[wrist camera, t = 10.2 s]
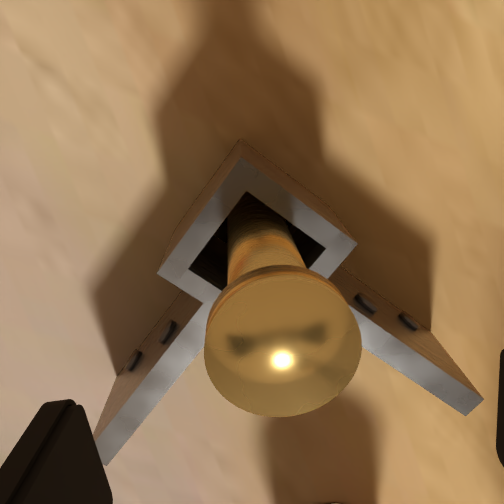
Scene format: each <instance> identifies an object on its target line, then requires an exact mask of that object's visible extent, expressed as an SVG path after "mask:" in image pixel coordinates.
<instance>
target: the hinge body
mask: <svg viewBox="0 0 504 504" xmlns="http://www.w3.org/2000/svg"><path fill="white" fill-rule="evenodd" d="M246 191H248V192H249V193H251V194H252V195H253V196H255V197H256V198H257V199H259V200H260V201H262V202H263V203H264V204H266V205H267V206H268V207H270V208H271V209H273V210H274V211H275V212H277V213H278V214H280V215H281V216H282V217H284V218H285V219H286V220H288V221H289V222H291V223H292V226H291V227H290V228H289V231H290V233H291V235H292V238H293V240H294V242H295V244H296V247H297V249H298V251H299V253H300V255H301V258H302V260H303V262H304V264H305V266H306V268H307V269H310V270H312V271H314V272H317V273H319V274H320V275H322V276H324V277H325V278H327V279H328V280H329V281H330V282H331V283H333V284H334V285H335V287H336V288H337V289H338V290H339V291H340V293H341V294H342V295H343V297H344V299H345V300H346V302H347V304H348V306H349V307H350V309H351V311H352V313H353V314H354V316H355V318H356V320H357V323H358V325H359V329H360V332H361V339H362V347H363V348H365V349H366V350H368V351H369V352H371V353H372V354H374V355H375V356H377V357H378V358H380V359H381V360H383V361H384V362H386V363H387V364H389V365H390V366H392V367H393V368H395V369H396V370H398V371H399V372H401V373H402V374H404V375H405V376H406V377H408V378H409V379H411V380H412V381H414V382H415V383H417V384H418V385H420V386H421V387H423V388H424V389H426V390H427V391H429V392H430V393H432V394H433V395H435V396H436V397H438V398H439V399H441V400H442V401H444V402H445V403H447V404H448V405H450V406H451V407H453V408H454V409H456V410H457V411H459V412H460V413H462V414H463V415H464V416H466V415H467V414H469V413H470V412H471V411H472V410H473V409H474V408H475V407H476V406H477V405H479V404H480V403H481V402H482V401H483V400H484V399H483V397H482V396H481V395H480V393H479V392H478V391H477V390H476V388H475V387H474V386H473V385H472V383H471V382H470V381H469V380H468V378H467V377H466V376H465V374H464V373H463V372H462V371H461V369H460V368H459V367H458V366H457V364H456V363H455V362H454V361H453V359H452V358H451V357H450V355H449V354H448V353H447V352H446V350H445V349H444V348H443V347H442V345H441V344H440V343H439V342H438V340H437V339H436V338H435V336H434V335H433V334H432V333H431V332H430V331H429V330H427V329H426V328H425V327H423V326H422V325H420V324H419V323H418V322H417V321H416V320H415V319H413V318H412V317H411V316H410V315H409V314H407V313H406V312H404V311H401V310H400V309H398V308H397V307H395V306H394V305H393V304H391V303H390V302H388V301H387V300H386V299H384V298H383V297H381V296H380V295H379V294H377V293H376V292H374V291H373V290H372V289H370V288H369V287H368V286H366V285H365V284H363V283H362V282H361V281H359V280H358V279H356V278H355V277H354V276H352V275H351V274H349V273H348V272H347V271H345V270H344V269H342V268H341V267H340V266H339V265H340V264H341V263H342V262H343V260H344V259H345V258H346V257H347V256H348V255H349V253H350V252H351V251H352V250H353V249H354V248H355V247H356V245H357V244H358V243H357V242H356V241H355V239H354V238H353V237H352V236H351V234H350V233H349V232H348V230H347V229H346V228H345V226H344V225H343V224H342V222H341V221H340V220H339V219H338V217H337V216H336V215H335V213H334V212H333V211H332V209H331V208H330V207H329V206H328V205H327V204H326V203H324V202H323V201H322V200H320V199H319V198H318V197H317V196H315V195H314V194H313V193H311V192H310V191H309V190H307V189H306V188H305V187H303V186H302V185H301V184H299V183H298V182H297V181H295V180H294V179H293V178H291V177H290V176H289V175H287V174H286V173H285V172H283V171H282V170H281V169H280V168H278V167H277V166H276V165H274V164H273V163H272V162H270V161H269V160H268V159H266V158H265V157H264V156H262V155H261V154H260V153H258V152H257V151H256V150H254V149H253V148H252V147H250V146H249V145H248V144H246V143H245V142H244V141H242V140H241V139H239V141H238V142H237V144H236V145H235V146H234V148H233V149H232V151H231V152H230V153H229V155H228V156H227V157H226V159H225V160H224V162H223V163H222V164H221V166H220V167H219V169H218V170H217V171H216V173H215V174H214V176H213V177H212V178H211V180H210V181H209V183H208V184H207V185H206V187H205V188H204V190H203V191H202V192H201V194H200V195H199V197H198V198H197V199H196V201H195V202H194V204H193V205H192V206H191V208H190V209H189V211H188V212H187V213H186V215H185V216H184V218H183V219H182V220H181V222H180V223H179V225H178V226H177V227H176V229H175V231H174V234H173V236H172V238H171V241H170V243H169V245H168V248H167V250H166V253H165V255H164V257H163V260H162V262H161V264H160V267H159V269H158V271H157V274H158V275H160V276H161V277H163V278H164V279H166V280H168V281H169V282H171V283H172V284H174V285H176V286H177V287H179V288H180V289H182V291H181V293H180V294H179V295H178V297H177V298H176V299H175V301H174V302H173V303H172V305H171V306H170V307H169V309H168V310H167V311H166V313H165V314H164V315H163V317H162V318H161V319H160V321H159V322H158V323H157V324H156V326H155V327H154V328H153V330H152V331H151V332H150V334H149V335H148V336H147V338H146V339H145V340H144V342H143V343H142V344H141V346H140V347H139V348H138V350H137V349H136V350H135V351H134V352H133V354H132V355H131V356H130V358H129V360H128V361H127V363H126V365H125V367H124V368H123V369H122V371H121V372H120V373H119V375H118V376H117V377H116V380H115V382H114V385H113V387H112V390H111V392H110V394H109V397H108V399H107V402H106V404H105V407H104V409H103V411H102V414H101V416H100V419H99V421H98V424H97V426H96V428H95V431H94V433H93V438H94V441H95V444H96V447H97V450H98V453H99V456H100V459H101V462H102V464H104V465H106V466H107V465H108V464H109V463H110V461H111V460H112V459H113V458H114V456H115V455H116V454H117V453H118V451H119V450H120V449H121V448H122V447H123V445H124V444H125V443H126V442H127V440H128V439H129V438H130V437H131V435H132V434H133V433H134V432H135V431H136V429H137V428H138V427H139V426H140V424H141V423H142V422H143V421H144V419H145V418H146V417H147V416H148V415H149V413H150V412H151V411H152V410H153V408H154V407H155V406H156V405H157V403H158V402H159V401H160V400H161V399H162V397H163V396H164V395H165V394H166V392H167V391H168V390H169V389H170V387H171V386H172V385H173V384H174V383H175V381H176V380H177V379H178V378H179V376H180V375H181V374H182V373H183V371H184V370H185V369H186V368H187V367H188V365H189V364H190V363H191V362H192V360H193V359H194V358H195V357H196V355H197V354H198V353H199V352H200V351H201V349H202V348H203V347H204V344H205V333H206V324H207V318H208V315H209V312H210V309H211V307H212V305H213V303H214V301H215V300H216V298H217V297H218V296H219V294H220V293H221V292H222V291H223V290H224V289H225V287H227V286H228V244H227V243H225V242H224V241H222V240H221V239H219V238H218V237H216V236H215V235H213V234H214V233H215V232H216V230H217V229H218V228H219V226H220V225H221V224H222V222H223V221H224V220H225V218H226V217H227V216H228V214H229V213H230V212H231V210H232V209H233V208H234V206H235V205H236V204H237V202H238V201H239V200H240V198H241V197H242V196H243V194H244V193H245V192H246Z"/></svg>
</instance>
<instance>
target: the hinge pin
mask: <svg viewBox="0 0 504 504" xmlns="http://www.w3.org/2000/svg"><path fill="white" fill-rule="evenodd" d="M227 237H228V286H227V287H225V289H224V290H223V291H222V292H221V293H220V294H219V296H218V297H217V298H216V300H215V301H214V303H213V305H212V307H211V309H210V312H209V315H208V318H207V324H206V333H205V344H204V359H205V366H206V369H207V373H208V375H209V377H210V379H211V381H212V383H213V385H214V386H215V388H216V389H217V390H218V391H219V392H220V394H221V395H222V396H223V397H224V398H226V399H227V400H228V401H229V402H231V403H232V404H234V405H235V406H237V407H239V408H241V409H243V410H245V411H247V412H250V413H253V414H257V415H261V416H268V417H289V416H296V415H300V414H304V413H307V412H310V411H313V410H315V409H317V408H319V407H321V406H323V405H325V404H326V403H328V402H330V401H331V400H332V399H334V398H335V397H336V396H337V395H338V394H339V393H340V392H341V391H343V389H344V388H345V387H346V386H347V385H348V383H349V382H350V380H351V379H352V377H353V376H354V374H355V372H356V369H357V367H358V364H359V361H360V357H361V351H362V339H361V332H360V329H359V325H358V323H357V320H356V318H355V316H354V314H353V313H352V311H351V309H350V307H349V306H348V304H347V302H346V300H345V299H344V297H343V295H342V294H341V293H340V291H339V290H338V289H337V288H336V287H335V285H334V284H333V283H331V282H330V281H329V280H328V279H327V278H325V277H324V276H322V275H320V274H319V273H317V272H314V271H312V270H310V269H307V268H306V266H305V264H304V262H303V260H302V258H301V255H300V253H299V251H298V249H297V247H296V244H295V242H294V240H293V238H292V235H291V233H290V231H289V229H288V227H287V224H286V222H285V220H284V218H283V217H282V216H281V215H280V214H278V213H277V212H275V211H274V210H273V209H271V208H270V207H268V206H267V205H266V204H264V203H263V202H262V201H260V200H259V199H257V198H256V197H255V196H253V195H252V194H251V193H249V192H248V191H247V192H245V193H244V194H243V196H242V197H241V198H240V200H239V201H238V202H237V204H236V205H235V206H234V208H233V209H232V210H231V212H230V213H229V214H228V216H227Z"/></svg>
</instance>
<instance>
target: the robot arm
mask: <svg viewBox="0 0 504 504" xmlns="http://www.w3.org/2000/svg"><path fill="white" fill-rule="evenodd" d="M496 450H497V454H498V457H499V460H500V462H501V464H502V465H503V467H504V349H503V350H502V351H501V354H500V371H499V392H498V413H497V435H496ZM0 504H113V498H112V492H111V489H110V486H109V483H108V480H107V477H106V474H105V471H104V468H103V465H102V462H101V459H100V456H99V453H98V450H97V447H96V444H95V441H94V438H93V435H92V432H91V429H90V426H89V423H88V420H87V416H86V413H85V410H84V408H83V406H82V405H76V403H75V402H74V401H73V400H71V399H67V400H60V401H52V402H46V403H44V404H43V405H42V406H41V408H40V409H39V411H38V412H37V414H36V415H35V417H34V418H33V420H32V421H31V423H30V424H29V426H28V427H27V429H26V430H25V432H24V433H23V435H22V436H21V438H20V439H19V441H18V442H17V444H16V445H15V447H14V448H13V450H12V451H11V453H10V454H9V456H8V457H7V459H6V460H5V462H4V463H3V465H2V466H1V468H0Z"/></svg>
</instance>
